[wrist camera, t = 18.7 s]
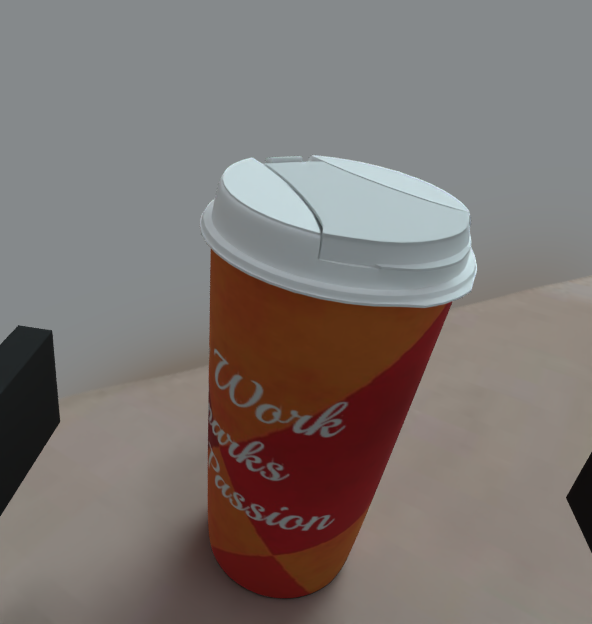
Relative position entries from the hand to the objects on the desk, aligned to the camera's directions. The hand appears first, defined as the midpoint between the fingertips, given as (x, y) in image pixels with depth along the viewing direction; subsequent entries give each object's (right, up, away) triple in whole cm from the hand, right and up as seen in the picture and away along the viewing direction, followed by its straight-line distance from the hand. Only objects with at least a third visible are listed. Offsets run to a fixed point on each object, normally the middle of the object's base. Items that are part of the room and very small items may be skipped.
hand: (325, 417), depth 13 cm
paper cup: (-1, -6, +9) cm, 11 cm away
